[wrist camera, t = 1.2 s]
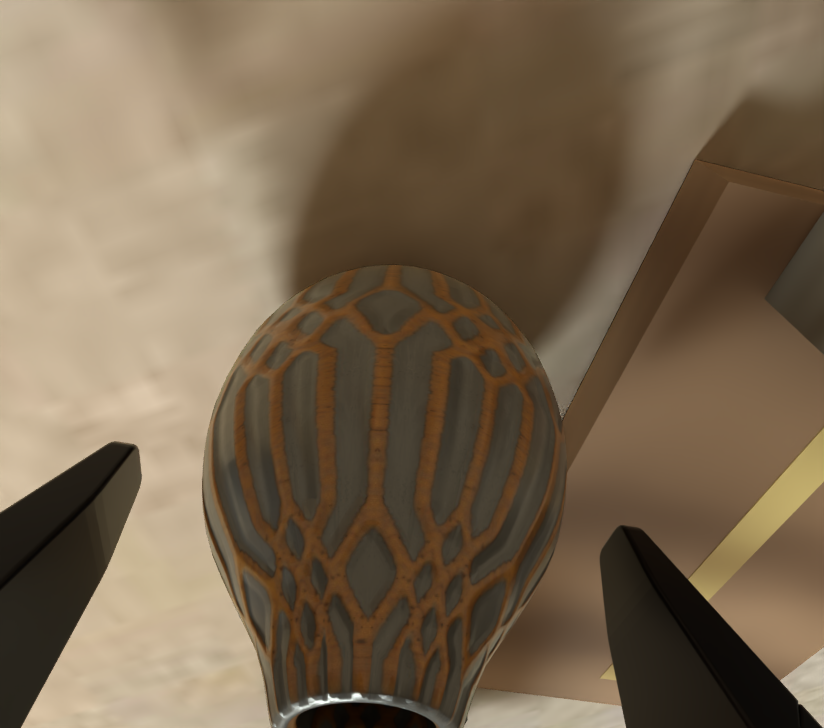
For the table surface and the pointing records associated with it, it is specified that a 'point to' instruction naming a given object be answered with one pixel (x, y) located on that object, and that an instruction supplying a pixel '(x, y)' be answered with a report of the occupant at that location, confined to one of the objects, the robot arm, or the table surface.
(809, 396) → the wooden board with block
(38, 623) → the robot arm
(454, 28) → the table surface
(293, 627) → the vase
